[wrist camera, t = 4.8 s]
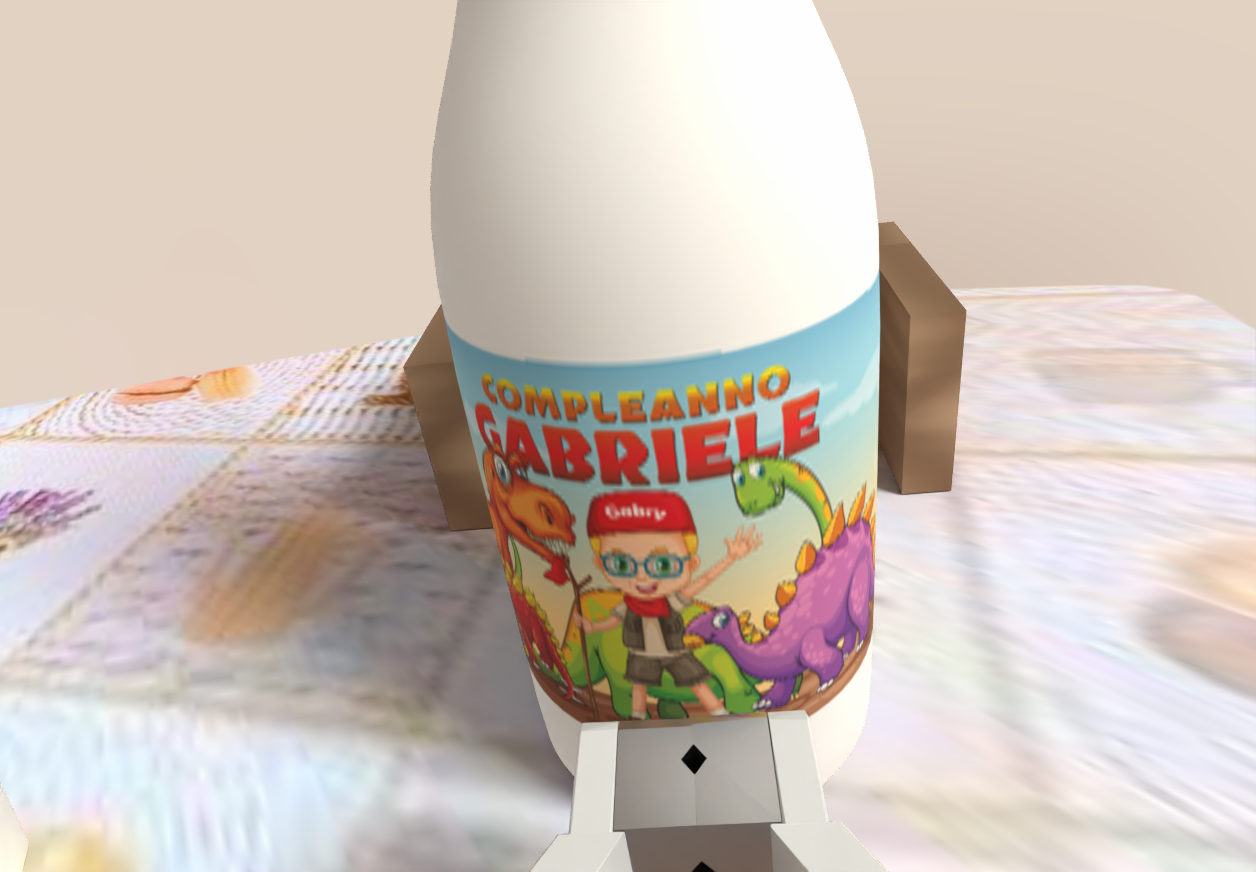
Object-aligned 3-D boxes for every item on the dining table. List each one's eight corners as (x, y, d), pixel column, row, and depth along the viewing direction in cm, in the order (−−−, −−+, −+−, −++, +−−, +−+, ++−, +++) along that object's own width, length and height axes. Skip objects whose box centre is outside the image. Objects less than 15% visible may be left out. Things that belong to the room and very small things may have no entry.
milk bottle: (546, 611, 24) (333, -318, 14) (818, 571, 24) (806, -387, 14) (545, 871, 17) (118, -584, 7) (922, 814, 17) (1051, -719, 7)
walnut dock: (450, 530, 28) (403, 366, 24) (494, 407, 35) (462, 269, 32) (951, 490, 26) (966, 310, 23) (888, 370, 33) (893, 221, 30)
